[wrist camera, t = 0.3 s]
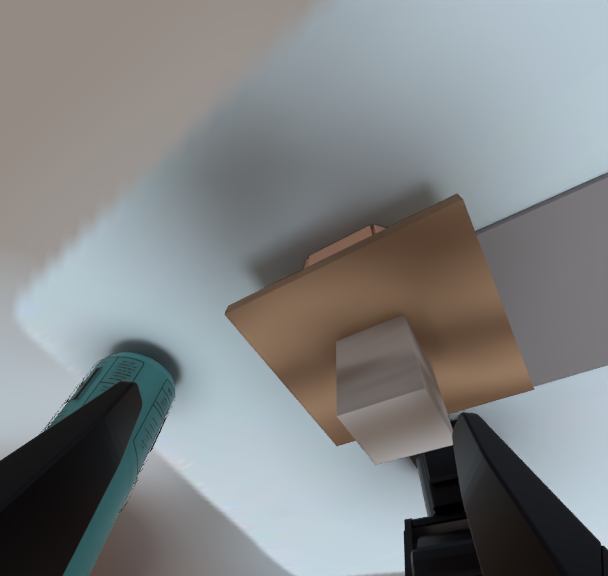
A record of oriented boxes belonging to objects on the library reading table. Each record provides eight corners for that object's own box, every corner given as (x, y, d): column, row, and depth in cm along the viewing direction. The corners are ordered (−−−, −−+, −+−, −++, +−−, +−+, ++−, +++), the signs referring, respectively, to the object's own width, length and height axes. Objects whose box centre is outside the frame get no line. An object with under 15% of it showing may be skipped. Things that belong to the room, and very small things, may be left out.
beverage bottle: (118, 322, 26) (-262, 771, 10) (199, 361, 28) (-7, 806, 11) (98, 373, 30) (-216, 777, 13) (171, 404, 31) (-22, 803, 14)
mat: (724, 325, 23) (730, 329, 22) (528, 383, 27) (530, 387, 26) (723, 121, 17) (731, 122, 16) (470, 234, 21) (472, 237, 20)
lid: (527, 379, 21) (586, 473, 16) (336, 435, 25) (337, 524, 20) (457, 193, 16) (513, 251, 11) (228, 305, 20) (193, 383, 15)
